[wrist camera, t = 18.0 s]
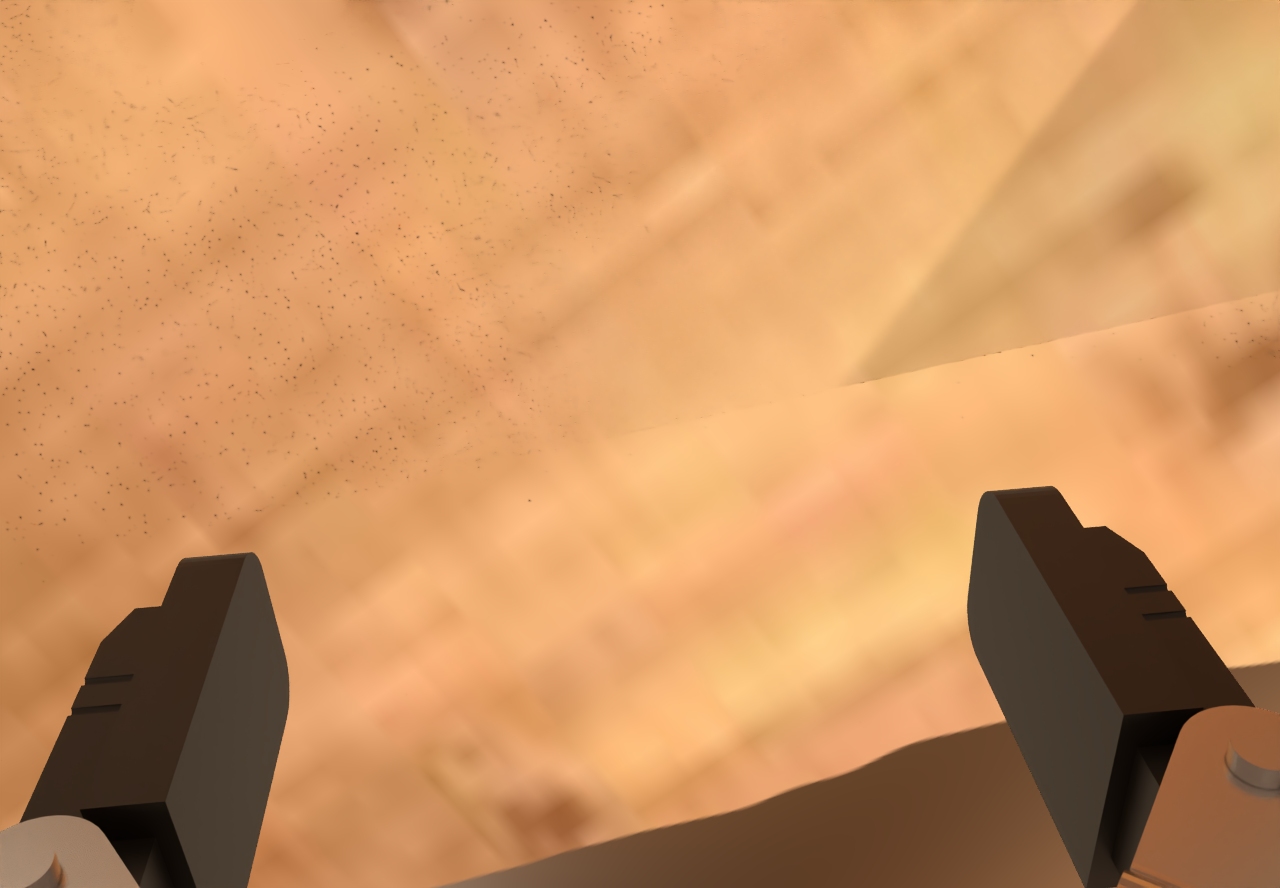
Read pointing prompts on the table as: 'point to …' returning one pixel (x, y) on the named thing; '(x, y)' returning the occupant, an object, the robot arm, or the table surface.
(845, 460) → the table surface
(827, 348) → the table surface
